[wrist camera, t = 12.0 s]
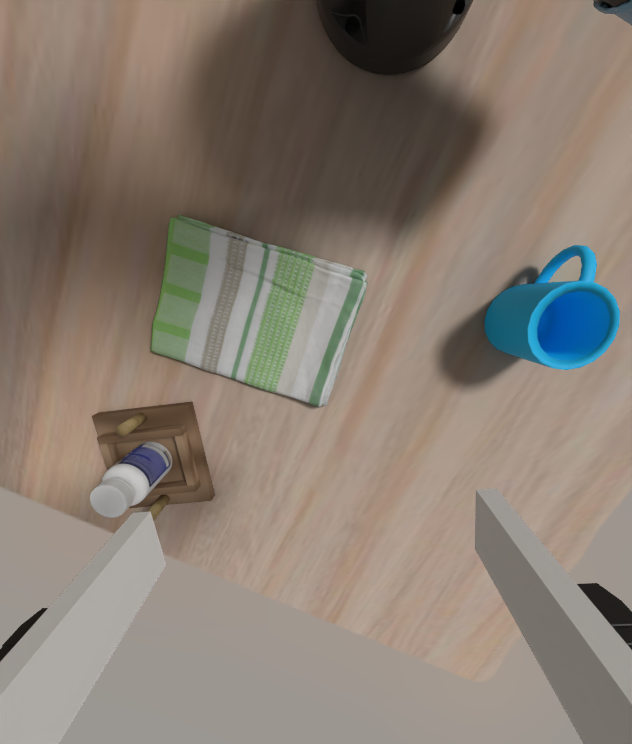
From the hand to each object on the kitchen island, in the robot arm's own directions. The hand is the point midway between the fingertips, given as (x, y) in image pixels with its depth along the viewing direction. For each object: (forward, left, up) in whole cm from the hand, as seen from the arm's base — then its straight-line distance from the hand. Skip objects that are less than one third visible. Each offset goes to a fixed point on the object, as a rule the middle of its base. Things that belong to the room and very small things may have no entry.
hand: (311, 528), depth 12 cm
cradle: (+9, -24, -27) cm, 37 cm away
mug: (-5, +25, -27) cm, 37 cm away
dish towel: (-8, -7, -28) cm, 30 cm away
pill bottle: (+9, -24, -26) cm, 36 cm away
